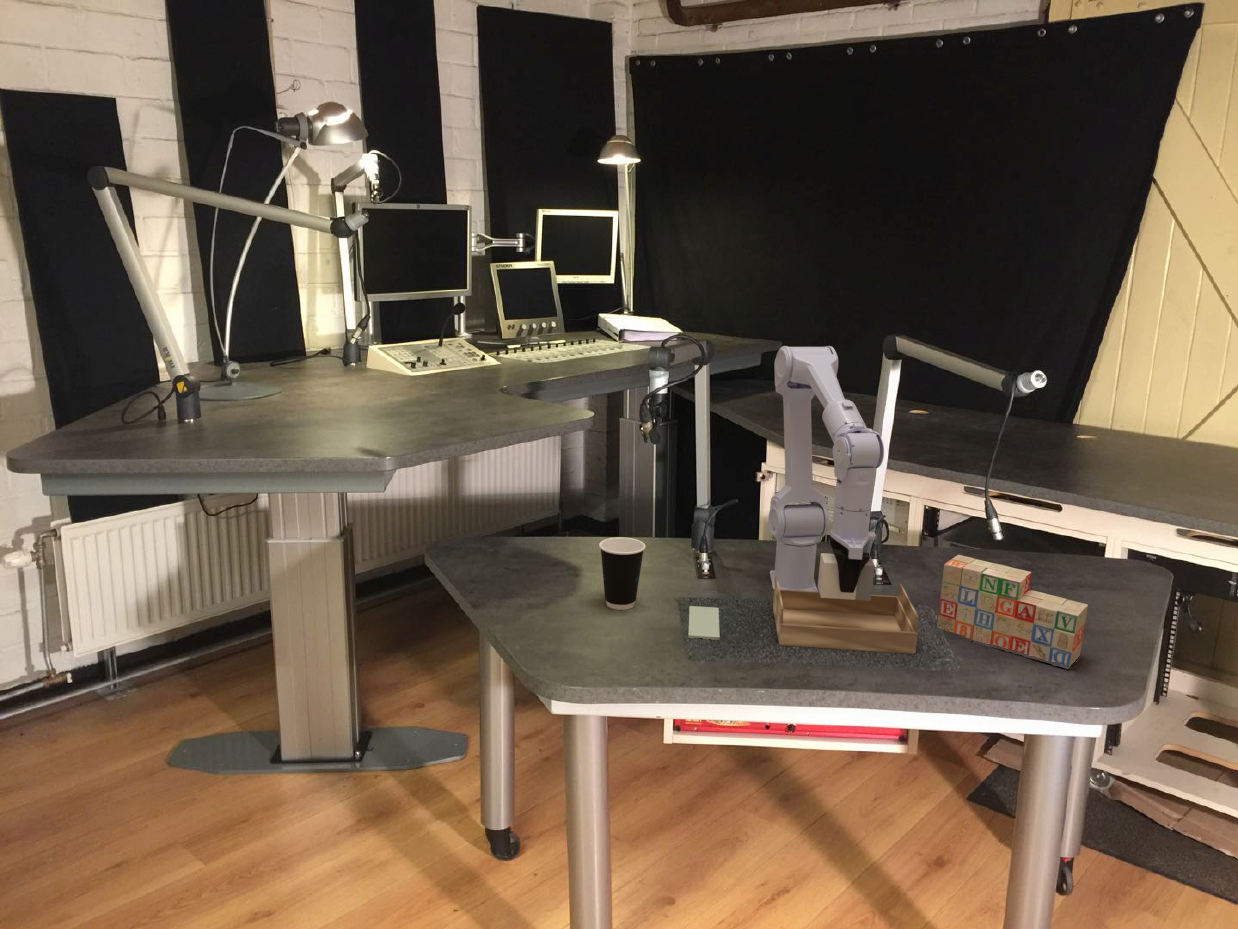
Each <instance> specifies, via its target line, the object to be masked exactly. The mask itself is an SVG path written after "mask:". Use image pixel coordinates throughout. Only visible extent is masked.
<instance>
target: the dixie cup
mask: <svg viewBox="0 0 1238 929" xmlns="http://www.w3.org/2000/svg"><path fill="white" fill-rule="evenodd" d="M598 546H599V549H600V554H601V566H602V577H603V578H602V580H603V591H604V592H603V593H604V599H605V602H606V607H608V608H609V607H610V608H609V609H611V610H612V609H613V610H618V611H621V610H622V611H625V610H630V609H632V608H633V607H634V606H635V602H636V601H637V595H638V590H639V588H638V587H639V581H640V576H641V569H642V563H643V558H644V557H643V556H644V550H645V549H646V544H645V543H644V542H643V541H641V540H639V539H636V538H631V537H622V536H621V537H620V536H619V537H618V536H617V537H610V538H606V539H602V540H601V541H600V542H599V544H598Z"/></svg>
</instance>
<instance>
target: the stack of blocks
mask: <svg viewBox="0 0 1238 929" xmlns="http://www.w3.org/2000/svg"><path fill="white" fill-rule="evenodd" d="M1031 579H1032V571H1028V570H1024V569H1019V568H1015V567H1011V566H1008V565H1005V564H999V563H995V562H990V561H986V560H981V559H977V558H975V557H970V556H964V555H962V554H957V555H956V556H954V557H953V558H951V559H950V560H948V561H947V562H945V563H944V564H943V572H942V580H941V587H940V594H939V595H940V596H939V598H940V599H939V609H938V617H937V623H936V624H937V625H936V628H937V629H939V630H943V631H947V632H950V633H953V634H956V635H960V636H962V637H963V639H965V638H969V639H971V640H975V641H979V642H982V643H985V644H992V645H996V646H999V647H1002V648H1006V649H1008V650H1015V651H1018V652H1021V653H1024V654H1027V655H1029V656H1035V657H1037V658H1041V659H1044V660H1046V661H1049V662H1057V663H1059V664H1062V665H1066V666H1067V667H1070V666H1071V664H1072V663H1073V662H1075V660H1076V659H1077V658H1078V657H1079V656H1080V655H1081V650H1082V642H1083V638H1084V630H1085V624H1086V620H1087V614H1088V607H1089V604H1087V603H1083V602H1079V601H1077V600H1072V599H1067V598H1064V597H1060V596H1058V595H1052V594H1048V593H1045V592H1040V591H1037V590H1032V589H1031V590H1030V588H1031ZM1079 658H1080V657H1079Z"/></svg>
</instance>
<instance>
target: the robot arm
mask: <svg viewBox="0 0 1238 929" xmlns="http://www.w3.org/2000/svg"><path fill="white" fill-rule="evenodd" d="M838 369H839V357H838V353H837V352H836V350H835V348H834V347H833V346H830V345H826V346H788V345H783V346H781V347H780V348H779V350H778V351H777V353H776V357H775V359H774V386H775V393H777V394H779V395H781V396H782V401H783V402H782V403H783V405H782V406H783V435H784V436H783V438H784V439H783V440H784V443H783V444H784V482H785V484H784V486H783V487H782V488H781V489H780V490H779V491H777V492H776V493H775V494H773V496H772V497H771V498H770V501H769V502H770V507H769V512H768V529H769V532H770V535H771V536H772V537H773V538H774V539H775V540H776V548H775V560H774V562H775V564H774V569H773V570H769V575H770V576H769V577H770V580H771V586H772V589H773V590H774V589H775V578H776V576H777V577H778V582H779V587H780V589H788V590H804V591H818V587H817V585H816V582H815V566H816V556H817V547H818V545H817V544H819V543H821V539H822V538H823V537H825V536H826V534H827V533H828V531H829V527H830V516H829V515H830V514H829V512H828V508H827V500H826V498H827V497H825V495H824V494H822V493H821V492H820V491H818V490H817V489H816V488H815V487H814V483H813V482H814V481H813V480H814V479H813V477H814V476H813V475H814V474H813V436H812V435H813V434H812V430H813V429H812V400H813V398H814V397H815V395H816V397H817V399H818V400H819V402H820V404H821V405H822V407H823V409H824V410H823V412H822V414H821V416H822V417H821V418H822V421H823V423H824V426H825V428H826V430H827V432H828V434H829V436H830V438H831V440H832V442H833V446H832V459H833V463H834V464H833V465H834V468H833V474H834V477H835V478H836V486H835V497H834V506H833V514H832V515H833V516H832V525H831V526H832V528H831V529H830V535H829V536H828V537H827V540H828V541H829V543H830V547H831V549H832V554H834V555H835V558H836V561H837V565H838V572H839V586H840V591H841V592H847V593H854V590H855V588H856V585H857V582H858V579H859V576H860V574H861V571H862V569H863V568H864V566H865V565H866V563H867V562H868V561H869V559H870V557H871V554H870V552H864V548H865V546H866V544H867V543H868V542H869V541H870V540H874V541H875V540H876V533H875V532H874V531H869V530H870V522H871V521H870V519H871V510H872V501H873V492H874V485H875V484H874V482H875V474H876V472H875V471H876V469H878V468H880V467H881V466H882V463H883V461H884V457H885V446H884V441H883V438H882V436H881V434H880V433H879V432H878V431H876V430H875V431H874V429H872V428H868V427H867V425H866V423H865V421H864V419H863V418H862V416H861V414H860V412H859V410H858V408H857V406H856V405H855V403H854V402H853V401H851V400H849V399H846V398H845V396H844V394H843V393H844V392H842V388H841V386H840V383H839V379H838V378H837V374H838V372H839V370H838ZM808 502H809V503H808ZM789 503H800V504H789ZM801 503H803V504H801Z"/></svg>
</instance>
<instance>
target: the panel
mask: <svg viewBox="0 0 1238 929" xmlns="http://www.w3.org/2000/svg"><path fill="white" fill-rule="evenodd" d="M688 607H689V608H688V609H689V610H688V633H687V634H688V636H687V639H694V638H703V639H702V640H709V639H711V640H713V641H720V640H721V638H720V612H719V609H720V608H719V607H712V606H695V605H689V606H688Z"/></svg>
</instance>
